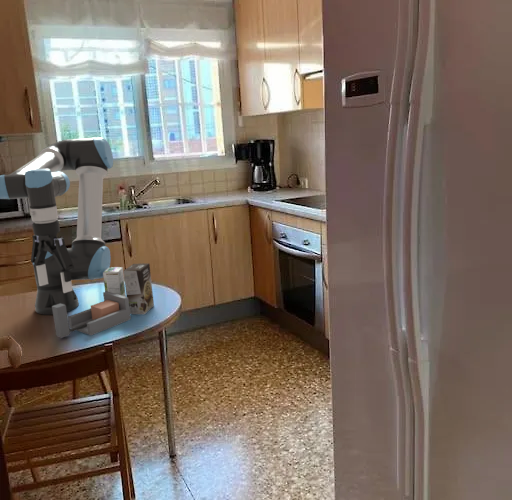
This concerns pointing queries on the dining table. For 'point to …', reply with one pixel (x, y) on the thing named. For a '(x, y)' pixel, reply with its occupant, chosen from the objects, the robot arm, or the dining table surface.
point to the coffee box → (139, 288)
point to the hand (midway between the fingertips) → (55, 288)
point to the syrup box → (114, 280)
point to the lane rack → (106, 320)
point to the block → (97, 312)
